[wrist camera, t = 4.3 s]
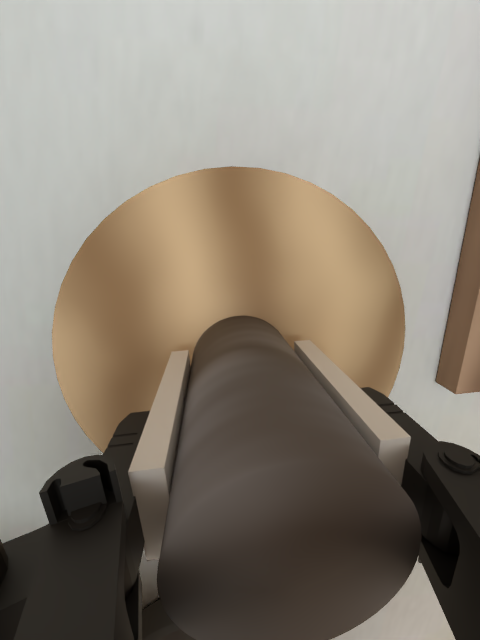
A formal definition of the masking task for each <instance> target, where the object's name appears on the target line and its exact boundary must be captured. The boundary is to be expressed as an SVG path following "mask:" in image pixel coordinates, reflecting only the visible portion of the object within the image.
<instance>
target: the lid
mask: <svg viewBox="0 0 480 640" xmlns="http://www.w3.org/2000/svg"><path fill="white" fill-rule="evenodd" d="M404 337H405V314H404V304H403V299H402V293H401V288H400V284H399V282H398V279H397V276H396V273H395V270H394V267H393V265H392V263H391V261H390V259H389V257H388V255H387V253H386V251H385V249H384V247H383V245H382V244H381V243H380V241H379V240H378V238H377V237H376V236H375V234H374V233H373V231H372V230H371V229H370V227H369V226H368V225H367V224H366V223H365V222H364V221H363V220H362V219H361V218H360V217H359V216H358V215H357V214H356V213H355V212H354V211H353V210H352V209H351V208H350V207H348V206H347V205H346V204H344V203H343V202H342V201H340V200H339V199H338V198H336V197H335V196H334V195H332V194H330V193H329V192H327V191H325V190H323V189H321V188H320V187H318V186H316V185H314V184H312V183H310V182H308V181H305V180H302V179H299V178H297V177H294V176H291V175H289V174H286V173H281V172H276V171H271V170H266V169H261V168H249V167H222V168H211V169H203V170H198V171H194V172H190V173H186V174H182V175H178V176H175V177H173V178H170V179H168V180H165V181H163V182H160V183H158V184H155V185H153V186H151V187H149V188H147V189H145V190H144V191H142V192H140V193H139V194H137V195H135V196H134V197H132V198H130V199H129V200H127V201H125V202H124V203H123V204H122V205H121V206H119V207H118V208H117V209H116V210H115V211H113V212H112V213H111V214H110V215H108V216H107V217H106V218H105V219H104V220H103V221H102V222H101V223H100V224H99V225H98V227H97V228H96V229H95V230H94V231H93V232H92V233H91V234H90V236H89V237H88V238H87V239H86V240H85V242H84V243H83V245H82V247H81V248H80V250H79V251H78V253H77V254H76V256H75V257H74V259H73V260H72V262H71V264H70V267H69V269H68V271H67V273H66V276H65V278H64V280H63V282H62V284H61V288H60V292H59V295H58V299H57V302H56V306H55V311H54V320H53V329H52V344H53V359H54V364H55V369H56V374H57V379H58V382H59V385H60V388H61V390H62V393H63V396H64V399H65V401H66V403H67V405H68V407H69V409H70V411H71V413H72V414H73V416H74V418H75V420H76V421H77V423H78V424H79V425H80V427H81V428H82V430H83V431H84V432H85V434H86V435H87V436H88V438H89V439H90V440H91V441H92V442H93V443H94V444H95V445H96V446H97V447H98V448H99V449H100V450H101V451H102V452H103V453H104V452H105V450H106V448H107V447H108V444H109V442H110V440H111V438H113V434H114V432H115V430H116V428H117V426H118V424H119V423H120V422H121V421H122V420H123V419H124V418H125V417H126V416H127V415H129V414H130V413H133V412H143V411H150V410H151V408H152V405H153V402H154V399H155V397H156V394H157V391H158V388H159V386H160V383H161V380H162V377H163V375H164V372H165V369H166V366H167V364H168V361H169V358H170V355H171V352H173V351H184V350H189V358H190V367H191V369H190V375H189V381H188V387H187V393H186V399H185V405H184V411H183V417H182V424H181V430H180V436H179V442H178V448H177V454H176V460H175V466H174V472H173V479H172V485H171V491H170V497H169V503H168V509H167V515H166V521H165V527H164V534H163V540H162V546H161V552H160V558H159V564H158V573H157V586H158V593H159V597H160V600H161V603H162V605H163V607H164V609H165V611H166V613H167V615H168V616H169V617H170V618H171V620H172V621H173V622H174V623H175V624H176V625H177V626H178V627H179V628H180V629H181V630H182V631H183V632H185V633H186V634H188V635H189V636H191V637H192V638H194V639H196V640H330V639H332V638H335V637H337V636H339V635H341V634H343V633H345V632H347V631H349V630H351V629H353V628H354V627H356V626H358V625H359V624H361V623H363V622H364V621H366V620H367V619H369V618H370V617H371V616H373V615H374V614H375V613H377V612H378V611H379V610H380V609H381V608H383V607H384V606H385V605H386V604H387V603H388V602H389V601H390V600H391V599H392V598H393V597H394V596H395V595H396V594H397V592H398V591H399V590H400V588H401V587H402V586H403V585H404V583H405V582H406V580H407V579H408V577H409V575H410V574H411V572H412V570H413V567H414V565H415V563H416V561H417V558H418V554H419V551H420V545H421V537H422V536H421V523H420V519H419V515H418V512H417V510H416V508H415V505H414V503H413V502H412V500H411V499H410V497H409V496H408V495H407V493H406V492H405V491H404V489H403V488H402V487H401V486H400V484H399V483H398V482H397V480H396V479H395V478H394V477H393V475H392V474H391V473H390V472H389V470H388V469H387V468H386V467H385V465H384V464H383V463H382V461H381V460H380V459H379V458H378V456H377V455H376V454H375V453H374V451H373V450H372V449H371V448H370V446H369V445H368V444H367V443H366V441H365V440H364V439H363V437H362V436H361V435H360V434H359V432H358V431H357V430H356V429H355V427H354V426H353V425H352V424H351V422H350V421H349V420H348V419H347V417H346V416H345V415H344V413H343V412H342V411H341V410H340V408H339V407H338V406H337V405H336V403H335V402H334V401H333V400H332V398H331V397H330V396H329V394H328V393H327V392H326V391H325V389H324V388H323V387H322V386H321V384H320V383H319V382H318V381H317V379H316V378H315V377H314V376H313V374H312V373H311V372H310V370H309V369H308V368H307V367H306V365H305V364H304V363H303V362H302V360H301V359H300V358H299V357H298V355H297V354H296V353H295V352H294V341H302V340H310V341H311V342H312V343H313V344H315V345H316V346H317V347H318V348H319V349H320V350H321V351H322V352H323V353H324V354H325V355H326V356H327V357H328V358H329V359H330V360H331V361H332V362H333V363H334V364H335V365H336V366H338V367H339V368H340V369H341V370H342V371H343V372H344V373H345V374H346V375H347V376H348V377H349V378H350V379H351V380H352V381H353V382H354V383H355V384H356V385H357V386H358V387H359V388H363V387H370V388H372V389H374V390H376V391H378V392H380V393H382V394H384V395H385V396H386V397H387V398H388V396H389V394H390V392H391V390H392V388H393V385H394V382H395V379H396V376H397V374H398V371H399V368H400V363H401V358H402V353H403V349H404Z"/></svg>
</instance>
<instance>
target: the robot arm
mask: <svg viewBox="0 0 480 640" xmlns="http://www.w3.org/2000/svg"><path fill="white" fill-rule="evenodd" d="M294 352H295V353H296V354H297V355H298V357H299V358H300V359H301V360H302V362H303V363H304V364H305V365H306V367H307V368H308V369H309V370H310V372H311V373H312V374H313V376H314V377H315V378H316V379H317V381H318V382H319V383H320V384H321V386H322V387H323V388H324V389H325V391H326V392H327V393H328V394H329V396H330V397H331V398H332V400H333V401H334V402H335V403H336V405H337V406H338V407H339V408H340V410H341V411H342V412H343V413H344V415H345V416H346V417H347V419H348V420H349V421H350V422H351V424H352V425H353V426H354V427H355V429H356V430H357V431H358V432H359V434H360V435H361V436H362V437H363V439H364V440H365V441H366V443H367V444H368V445H369V446H370V448H371V449H372V450H373V451H374V453H375V454H376V455H377V456H378V458H379V459H380V460H381V461H382V463H383V464H384V465H385V467H386V468H387V469H388V470H389V472H390V473H391V474H392V475H393V477H394V478H395V479H396V480H397V482H398V483H399V484H400V486H401V487H402V488H403V489H404V491H405V492H406V493H407V495H408V496H409V497H410V499H411V500H412V502H413V503H414V505H415V508H416V510H417V512H418V515H419V519H420V523H421V536H422V537H421V545H420V551H419V554H418V556H419V557H418V561H419V563H422V565H423V567H424V569H425V571H426V574H427V576H428V578H429V580H430V583H431V585H432V587H433V589H434V592H435V594H436V596H437V598H438V601H439V603H440V605H441V607H442V610H443V612H444V614H445V616H446V619H447V621H448V623H449V625H450V628H451V630H452V632H453V634H454V637H455V639H456V640H480V456H479V455H478V454H476V453H474V452H472V451H471V450H469V449H467V448H465V447H462V446H459V445H456V444H454V443H448V442H442V441H439V442H438V441H437V440H436V439H435V438H434V437H433V436H431V435H430V434H429V433H428V432H427V431H426V430H425V429H423V428H422V427H421V426H420V425H419V424H418V423H416V422H415V421H414V420H413V419H412V418H411V417H409V416H408V415H407V414H406V413H403V411H402V410H401V409H400V408H399V407H398V406H397V405H394V403H393V402H392V401H391V400H390V399H389V398H387V397H386V396H385V395H384V394H382V393H380V392H378V391H376V390H374V389H372V388H370V387H363V388H359V387H358V386H357V385H356V384H355V383H354V382H353V381H352V380H351V379H350V378H349V377H348V376H347V375H346V374H345V373H344V372H343V371H342V370H341V369H340V368H339V367H338V366H336V365H335V364H334V363H333V362H332V361H331V360H330V359H329V358H328V357H327V356H326V355H325V354H324V353H323V352H322V351H321V350H320V349H319V348H318V347H317V346H316V345H315V344H313V343H312V342H311V341H310V340H302V341H294ZM190 369H191V367H190V358H189V350H184V351H173V352H171V355H170V358H169V361H168V364H167V366H166V369H165V372H164V375H163V377H162V380H161V383H160V386H159V388H158V391H157V394H156V397H155V399H154V402H153V405H152V408H151V410H150V411H143V412H133V413H130V414H129V415H127V416H126V417H125V418H124V419H123V420H122V421H121V422H120V423H119V424H118V426H117V428H116V430H115V432H114V434H113V438H111V440H110V442H109V444H108V447H107V448H106V450H105V452H104V454H103V455H93V456H87V457H83V458H81V459H78V460H76V461H73V462H71V463H69V464H68V465H66V466H65V467H63V468H61V469H60V470H58V471H57V472H56V473H55V474H54V475H53V476H52V477H51V478H50V479H49V480H48V481H46V483H45V485H44V486H43V488H42V489H41V491H40V493H39V494H40V497H41V500H42V503H43V506H44V509H45V512H46V515H47V518H48V521H49V523H50V524H48V525H46V526H44V527H42V528H40V529H37V530H35V531H32V532H30V533H28V534H25V535H23V536H20V537H18V538H15V539H13V540H10V541H8V542H6V543H3V544H2V542H1V540H0V640H196V639H194V638H192V637H191V636H189V635H188V634H186V633H185V632H183V631H182V630H181V629H180V628H179V627H178V626H177V625H176V624H175V623H174V622H173V621H172V620H171V618H170V617H169V616H168V615H167V613H166V611H165V609H164V607H163V605H162V603H161V600H158V601H156V602H154V603H153V604H151V605H150V606H148V607H147V608H145V609H144V610H143V611H142V583H141V578H140V573H139V566H140V562H141V557H142V553H143V548H144V549H145V554H146V559H147V561H149V560H156V559H159V558H160V552H161V546H162V540H163V534H164V527H165V521H166V515H167V509H168V503H169V497H170V491H171V485H172V479H173V472H174V466H175V460H176V454H177V448H178V442H179V436H180V430H181V424H182V417H183V411H184V405H185V399H186V393H187V387H188V381H189V375H190Z"/></svg>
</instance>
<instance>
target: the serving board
mask: <svg viewBox="0 0 480 640" xmlns="http://www.w3.org/2000/svg"><path fill="white" fill-rule="evenodd" d="M436 382H437V383H439V384H440V385H442V386H443V387H445V388H446V389H448V390H450V391H451V392H453V393H454V394H462V393H471V392H480V160H479V165H478V170H477V175H476V180H475V185H474V190H473V195H472V200H471V205H470V210H469V215H468V220H467V226H466V231H465V236H464V241H463V246H462V251H461V256H460V261H459V266H458V271H457V276H456V281H455V286H454V291H453V296H452V301H451V307H450V312H449V317H448V322H447V327H446V332H445V337H444V342H443V347H442V352H441V357H440V362H439V367H438V372H437V377H436Z"/></svg>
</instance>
